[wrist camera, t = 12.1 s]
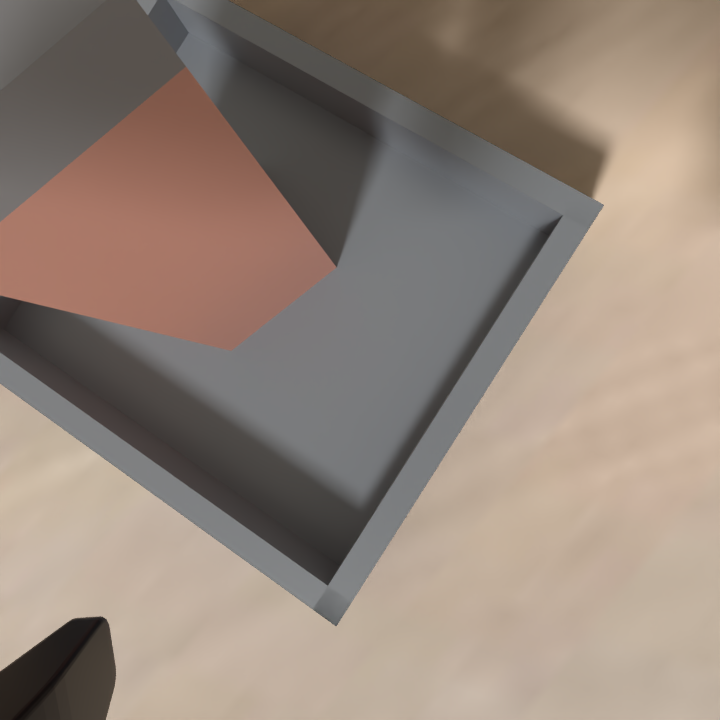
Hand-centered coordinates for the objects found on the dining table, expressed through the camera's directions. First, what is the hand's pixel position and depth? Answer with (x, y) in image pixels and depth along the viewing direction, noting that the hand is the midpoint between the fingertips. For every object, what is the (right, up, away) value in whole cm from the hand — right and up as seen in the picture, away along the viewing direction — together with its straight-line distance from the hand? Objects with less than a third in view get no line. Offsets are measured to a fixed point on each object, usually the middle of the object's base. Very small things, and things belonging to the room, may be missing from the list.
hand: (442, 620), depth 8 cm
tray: (-4, +6, +12) cm, 14 cm away
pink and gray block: (-5, +7, +11) cm, 14 cm away
